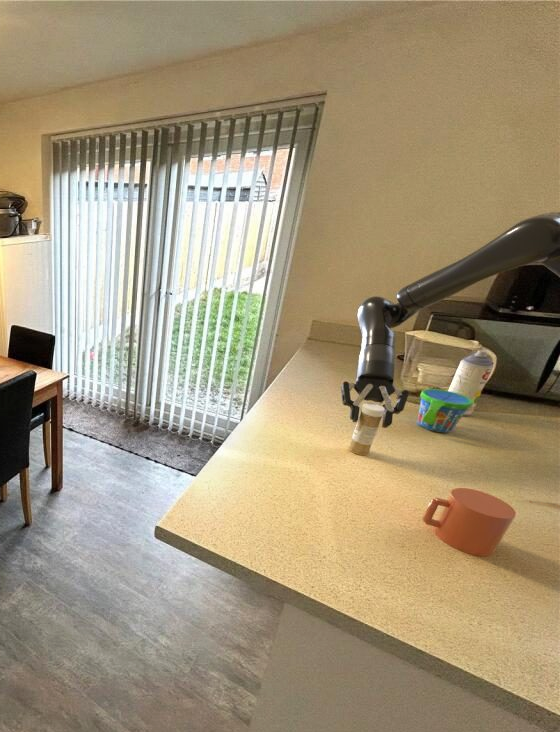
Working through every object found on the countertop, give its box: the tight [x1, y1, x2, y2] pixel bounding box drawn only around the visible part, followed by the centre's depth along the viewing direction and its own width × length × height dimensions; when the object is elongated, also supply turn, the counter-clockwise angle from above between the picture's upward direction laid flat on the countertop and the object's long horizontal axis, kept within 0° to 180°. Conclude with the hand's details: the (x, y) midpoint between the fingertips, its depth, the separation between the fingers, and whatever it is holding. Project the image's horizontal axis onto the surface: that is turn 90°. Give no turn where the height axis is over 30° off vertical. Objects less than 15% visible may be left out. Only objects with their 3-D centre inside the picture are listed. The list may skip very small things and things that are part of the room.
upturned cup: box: [422, 487, 517, 557], centre depth 75 cm, size 11×8×9 cm
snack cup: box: [417, 388, 473, 434], centre depth 113 cm, size 16×10×10 cm
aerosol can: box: [447, 349, 495, 417], centre depth 119 cm, size 7×7×20 cm
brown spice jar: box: [348, 402, 385, 456], centre depth 101 cm, size 5×5×14 cm
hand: (370, 423), depth 99 cm, fingers open, 5 cm apart
